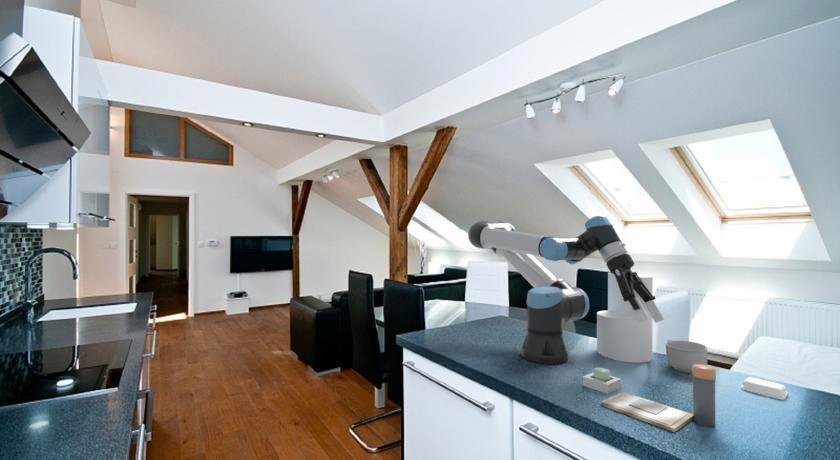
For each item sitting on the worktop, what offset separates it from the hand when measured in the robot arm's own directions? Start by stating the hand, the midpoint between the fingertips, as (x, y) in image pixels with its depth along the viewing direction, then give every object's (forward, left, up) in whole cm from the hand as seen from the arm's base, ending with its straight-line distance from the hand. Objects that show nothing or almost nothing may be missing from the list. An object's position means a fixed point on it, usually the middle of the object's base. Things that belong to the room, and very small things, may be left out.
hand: (652, 320), depth 114 cm
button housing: (-5, -20, -16) cm, 26 cm away
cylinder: (-16, +15, -17) cm, 27 cm away
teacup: (+2, +16, -17) cm, 23 cm away
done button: (-5, -20, -15) cm, 25 cm away
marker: (+19, -21, -16) cm, 33 cm away
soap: (+22, +13, -17) cm, 31 cm away
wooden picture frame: (+9, -26, -16) cm, 32 cm away
